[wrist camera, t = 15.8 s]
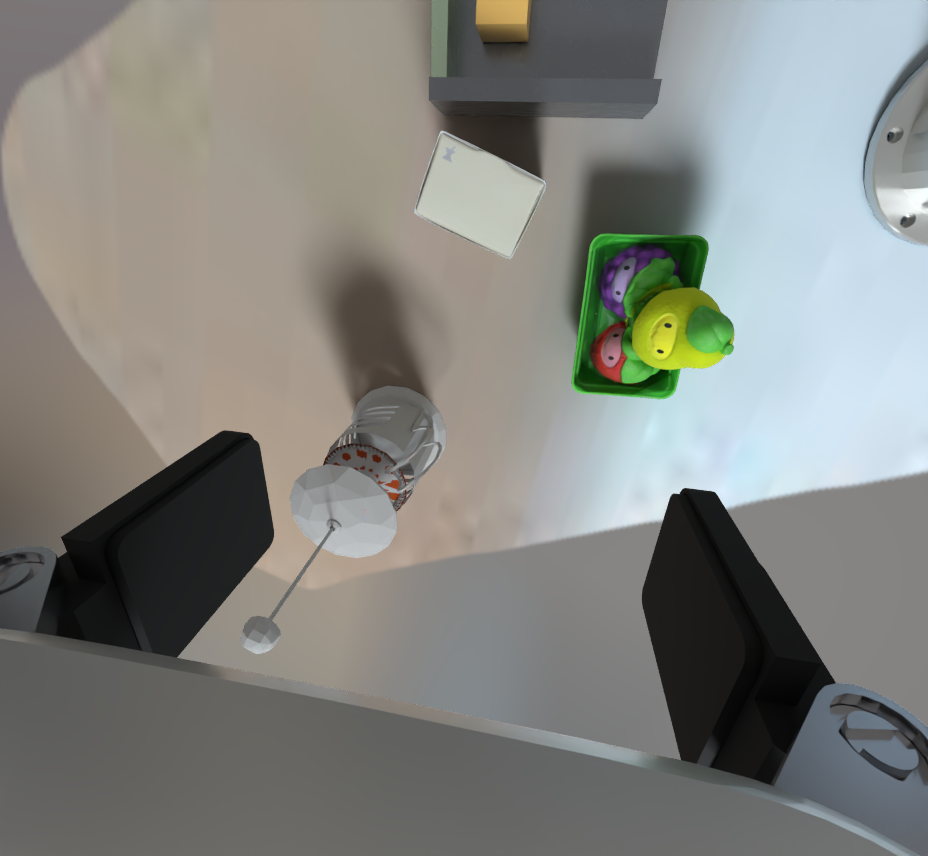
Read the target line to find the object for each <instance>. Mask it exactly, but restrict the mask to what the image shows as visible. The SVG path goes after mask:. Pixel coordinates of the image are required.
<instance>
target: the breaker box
mask: <svg viewBox="0 0 928 856" xmlns="http://www.w3.org/2000/svg"><path fill="white" fill-rule="evenodd" d="M667 1H668V0H532V3H531V15H530V27H529V39H528V42H482V40H481V38H480V35H479V32H478V29H477V26H476V4H477V0H432V9H431V77H429V101H430V102H431V103H432V104H433V105H434V106H435V107H436V108H437V109H438V110H439V111H440V112H441V113H442V114H443V115H479V116H530V117H581V118H632V119H643V118H644V117H645V116H646V115H647V114H648V113H649V111H650V110H651V109H652V108H653V107H654V106H655V105H656V104H657V101H658V96H659V91H660V85H661V80H662V79H653V78H654V72H655V67H656V61H657V56H658V50H659V45H660V39H661V34H662V28H663V23H664V17H665V12H666V7H667Z"/></svg>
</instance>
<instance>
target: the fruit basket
mask: <svg viewBox="0 0 928 856" xmlns="http://www.w3.org/2000/svg"><path fill="white" fill-rule="evenodd" d="M708 250H709V248H708V242H707V241H706V240H705V239H704V238H703V237H701V236H697V235H646V234H614V233H604V234H600V235H598V236H596V237H595V238H594V239H593V240H592V242H591V244H590V247H589V255H588V263H587V272H586V279H585V287H584V295H583V302H582V309H581V316H580V323H579V330H578V338H577V345H576V353H575V360H574V367H573V374H572V387H573V388H574V390H576V391H577V392H579V393H582V394H599V395H614V396H629V397H640V398H651V399H666V398H668V397H670V396H671V395H673V393H674V392H675V390H676V387H677V382H678V378H679V373H680V369H681V368H686V367H691V368H708V367H710V366H712V365H714V364H716V363H718V362H719V361H720V360H721V359H723V357H724V356H725V355H729V354H731V353H732V351H733V349H734V346H733V345H732V344H733V341H734V328H733V324H732V322H731V321H730V319H728V318H727V317H726V316H725V315H724V314H723V313H721V311H720V309H719V307H718V305H717V304H716V302H715V301H714V300H713V299H712V298H711V297H710V296H709V295H708V294H706V293H705V292H703V291H701V290H699V289H700V285H701V281H702V276H703V272H704V268H705V263H706V259H707V255H708Z"/></svg>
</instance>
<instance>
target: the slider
mask: <svg viewBox="0 0 928 856" xmlns="http://www.w3.org/2000/svg"><path fill="white" fill-rule="evenodd" d="M531 3H532V0H477V4H476V26H477V29H478V32H479V35H480V38H481V40H482V42H528V39H529V27H530V15H531Z"/></svg>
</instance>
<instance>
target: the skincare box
mask: <svg viewBox="0 0 928 856" xmlns="http://www.w3.org/2000/svg"><path fill="white" fill-rule="evenodd" d="M546 187H547V183H546V181H544V180H543V179H541V178H539V177H537V176H535V175H533V174H531V173H529V172H527V171H525V170H523V169H521V168H519V167H517V166H515V165H513V164H511V163H509V162H507V161H505V160H503V159H501V158H499V157H497V156H495V155H493V154H491V153H489V152H487V151H485V150H483V149H481V148H479V147H477V146H475V145H473V144H471V143H468V142H466V141H464V140H462V139H460V138H458V137H456V136H454V135H452V134H450V133H448V132H446V131H443V130H442V131H440V133H439V136H438V139H437V142H436V145H435V147H434V150H433V153H432V156H431V158H430V161H429V164H428V167H427V170H426V173H425V176H424V179H423V182H422V185H421V188H420V191H419V194H418V198H417V201H416V205H415V208H414V212H415V214H416V215H418V216H420V217H422V218H423V219H425V220H427V221H429V222H430V223H432V224H434V225H436V226H438V227H440V228H442V229H444V230H446V231H448V232H450V233H452V234H454V235H456V236H458V237H460V238H462V239H465V240H467V241H469V242H471V243H473V244H475V245H477V246H480V247H482V248H484V249H486V250H489V251H491V252H493V253H496V254H498V255H500V256H503V257H505V258H507V259H511V258H512V257H513V255H514V253H515V251H516V249H517V247H518V245H519V243H520V241H521V240H522V238H523V236H524V234H525V232H526V230H527V228H528V226H529V224H530V222H531V220H532V218H533V215H534V213H535V211H536V209H537V207H538V205H539V203H540V200H541V198H542V196H543V194H544V192H545V189H546Z"/></svg>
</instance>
